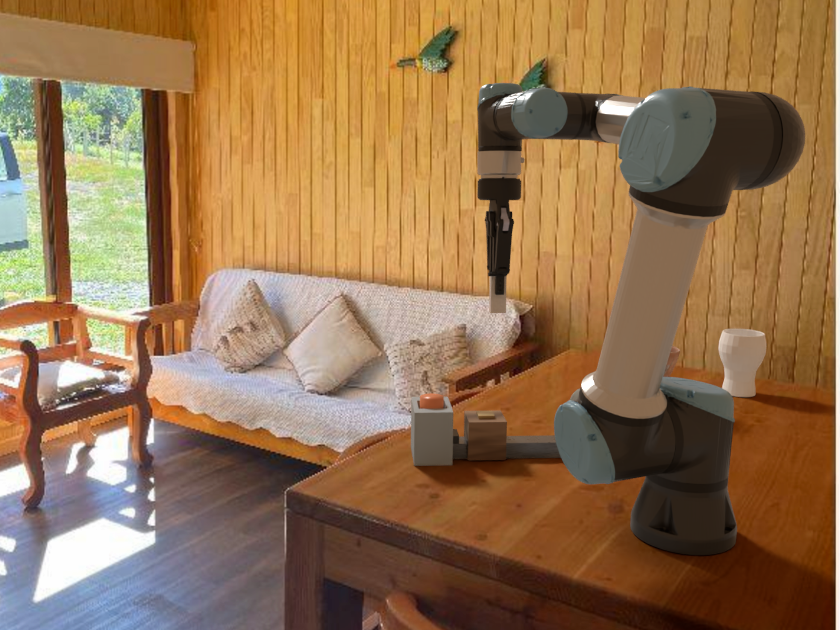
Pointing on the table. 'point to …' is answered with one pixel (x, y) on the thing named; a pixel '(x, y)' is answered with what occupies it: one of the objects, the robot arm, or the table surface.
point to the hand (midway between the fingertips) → (497, 312)
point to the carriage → (485, 435)
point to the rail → (514, 447)
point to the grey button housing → (431, 434)
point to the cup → (741, 359)
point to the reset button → (431, 401)
